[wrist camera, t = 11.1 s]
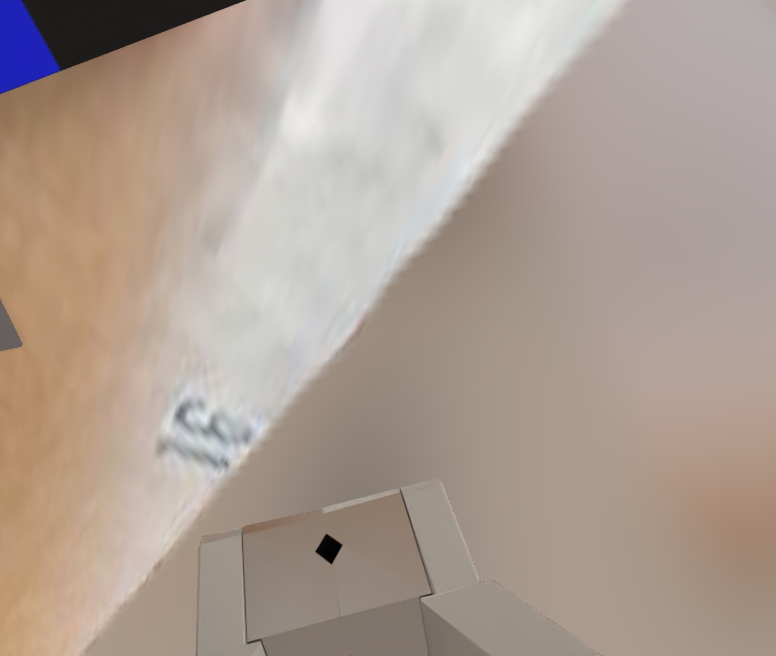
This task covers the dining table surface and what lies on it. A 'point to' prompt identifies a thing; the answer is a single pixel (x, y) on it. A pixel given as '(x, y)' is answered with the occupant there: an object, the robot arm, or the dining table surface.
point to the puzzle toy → (82, 31)
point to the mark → (7, 331)
